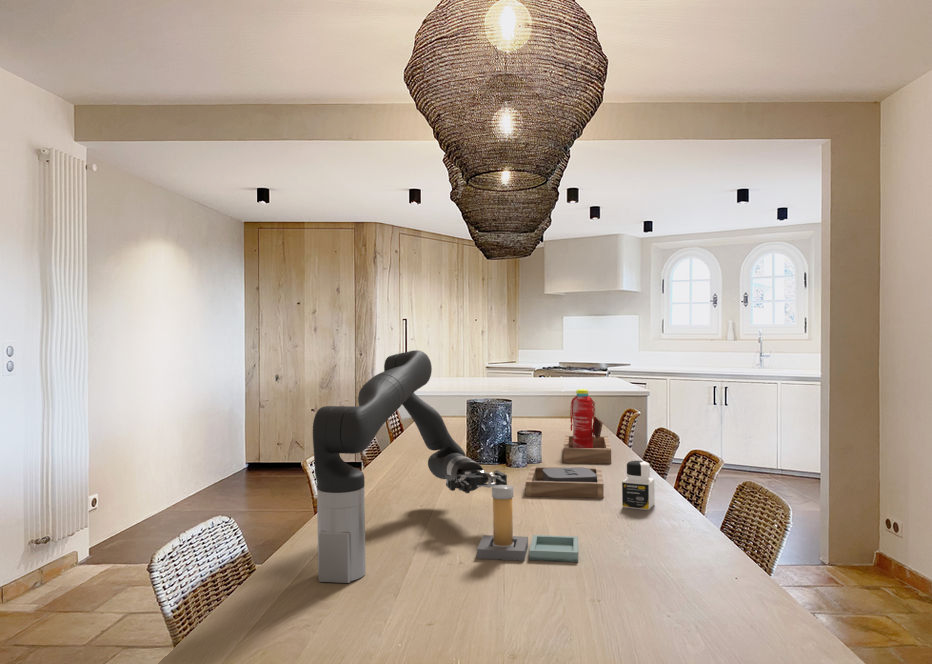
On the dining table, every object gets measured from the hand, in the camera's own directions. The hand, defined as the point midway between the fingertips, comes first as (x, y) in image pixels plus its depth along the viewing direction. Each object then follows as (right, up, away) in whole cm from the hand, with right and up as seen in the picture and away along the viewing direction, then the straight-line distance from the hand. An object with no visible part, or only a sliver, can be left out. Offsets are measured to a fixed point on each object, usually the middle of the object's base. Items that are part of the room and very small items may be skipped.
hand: (485, 487), depth 160 cm
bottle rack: (+41, -11, +101) cm, 110 cm away
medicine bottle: (+42, -11, +26) cm, 51 cm away
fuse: (+3, -12, -11) cm, 16 cm away
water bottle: (+41, -11, +102) cm, 110 cm away
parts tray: (+14, -11, -12) cm, 22 cm away
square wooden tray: (+25, -11, +48) cm, 56 cm away
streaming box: (+26, -12, +47) cm, 55 cm away
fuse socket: (+3, -11, -11) cm, 16 cm away
